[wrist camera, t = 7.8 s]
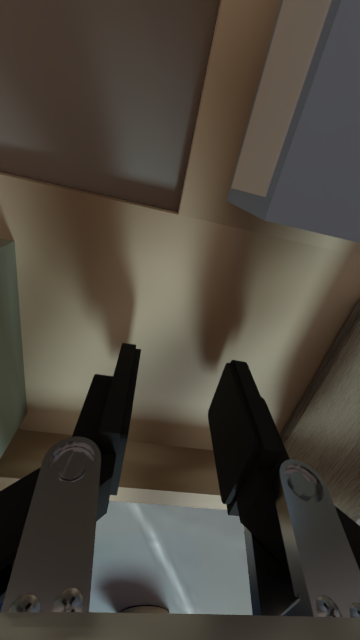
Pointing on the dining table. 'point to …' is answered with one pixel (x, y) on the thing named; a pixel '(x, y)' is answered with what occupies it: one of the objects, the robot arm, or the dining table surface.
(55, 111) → the dining table surface
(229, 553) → the dining table surface
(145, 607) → the candle
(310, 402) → the bookend
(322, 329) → the wooden platform
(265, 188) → the blue-grey rectangular block
